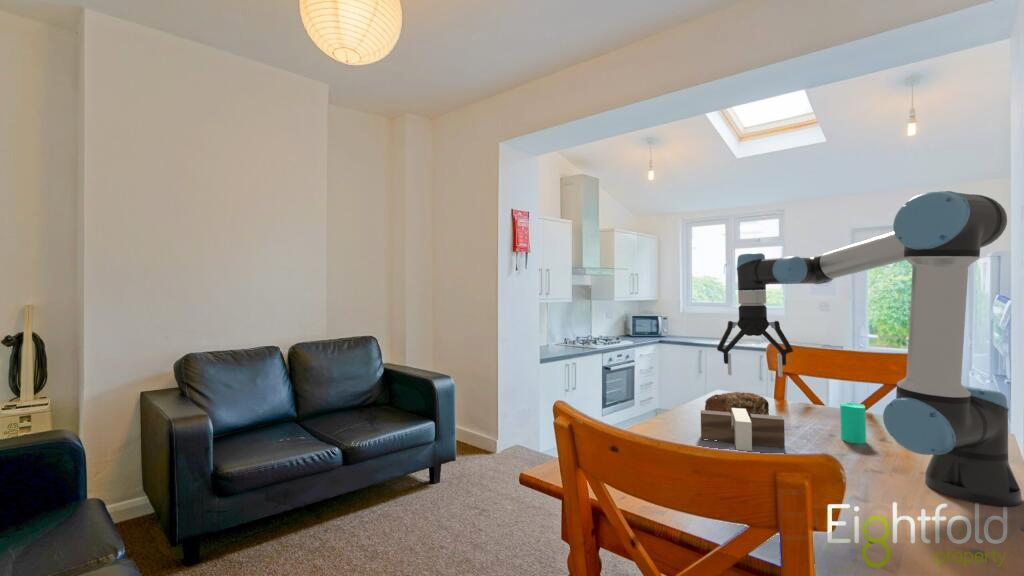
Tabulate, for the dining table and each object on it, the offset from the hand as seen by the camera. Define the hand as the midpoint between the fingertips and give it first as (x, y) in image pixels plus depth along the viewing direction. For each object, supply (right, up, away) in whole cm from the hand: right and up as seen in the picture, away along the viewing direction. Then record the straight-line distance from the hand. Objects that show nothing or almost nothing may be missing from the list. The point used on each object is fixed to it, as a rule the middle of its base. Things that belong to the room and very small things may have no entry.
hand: (754, 375), depth 141 cm
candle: (+28, -19, -2) cm, 34 cm away
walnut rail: (-5, -19, -2) cm, 20 cm away
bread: (+4, -20, +19) cm, 27 cm away
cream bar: (-5, -19, -2) cm, 20 cm away
